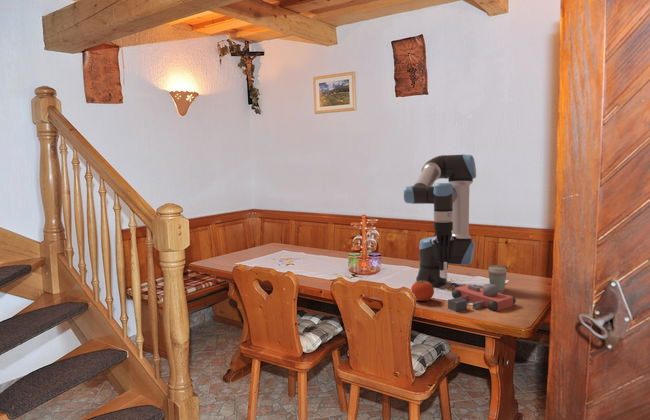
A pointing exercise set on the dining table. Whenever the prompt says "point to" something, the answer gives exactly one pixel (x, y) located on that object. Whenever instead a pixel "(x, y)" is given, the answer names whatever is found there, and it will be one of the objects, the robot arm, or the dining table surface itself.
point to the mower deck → (485, 296)
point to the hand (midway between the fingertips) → (443, 277)
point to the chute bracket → (476, 304)
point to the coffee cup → (498, 276)
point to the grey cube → (457, 304)
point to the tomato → (422, 290)
